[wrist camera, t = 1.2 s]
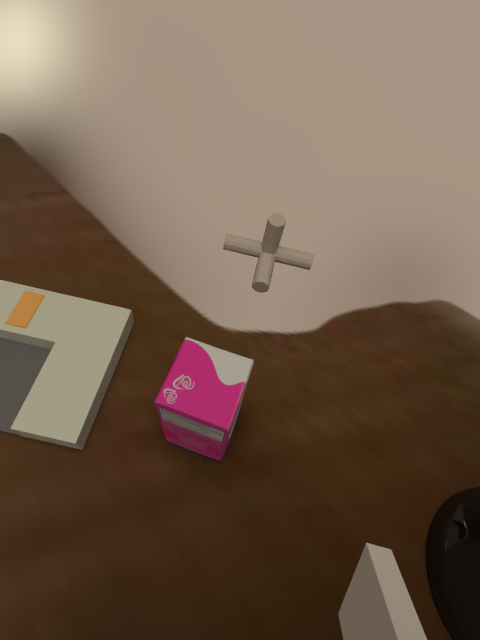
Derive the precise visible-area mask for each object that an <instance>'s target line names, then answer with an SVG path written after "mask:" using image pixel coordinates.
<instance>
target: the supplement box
mask: <svg viewBox="0 0 480 640" xmlns="http://www.w3.org/2000/svg"><path fill="white" fill-rule="evenodd" d="M253 363H254V361H253V360H252V359H248V358H245V357H242V356H239V355H236V354H233V353H230V352H227V351H224V350H221V349H218V348H216V347H213V346H210V345H207V344H205V343H202V342H199V341H196V340H193V339H191V338H188V337H186V338H185V340H184V342H183V344H182V346H181V348H180V350H179V352H178V354H177V356H176V358H175V360H174V362H173V364H172V366H171V369H170V371H169V373H168V375H167V377H166V379H165V381H164V383H163V385H162V388H161V390H160V392H159V394H158V396H157V398H156V400H155V404H156V408H157V411H158V414H159V418H160V421H161V425H162V428H163V432H164V435H165V439H166V441H167V442H169V443H172V444H174V445H177V446H179V447H182V448H184V449H187V450H190V451H192V452H195V453H197V454H200V455H202V456H205V457H208V458H210V459H213V460H216V461H218V462H221V461H222V459H223V457H224V454H225V451H226V449H227V446H228V443H229V441H230V438H231V435H232V432H233V429H234V427H235V424H236V420H237V417H238V414H239V411H240V406H241V403H242V399H243V396H244V393H245V389H246V386H247V383H248V379H249V376H250V373H251V369H252V366H253Z"/></svg>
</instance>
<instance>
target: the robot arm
mask: <svg viewBox="0 0 480 640" xmlns="http://www.w3.org/2000/svg"><path fill="white" fill-rule="evenodd" d="M427 568H428V576H429V581H430V585H431V589H432V593H433V596H434V600H435V602H436V605H437V608H438V610H439V613H440V615H441V617H442V619H443V621H444V623H445V625H446V627H447V629H448V631H449V633H450V634H451V636H452V638H453V639H454V640H480V487H476V488H472V489H467V490H464V491H461V492H459V493H457V494H455V495H454V496H452V497H451V498H450V499H448V500H447V501H446V502H445V503H444V504H443V505H442V507H441V508H440V509H439V511H438V512H437V514H436V516H435V518H434V520H433V523H432V525H431V529H430V532H429V537H428V544H427ZM338 614H339V619H340V624H341V630H342V635H343V640H427V638H426V636H425V633H424V631H423V628H422V626H421V623H420V621H419V618H418V616H417V613H416V611H415V608H414V606H413V603H412V601H411V598H410V596H409V593H408V591H407V588H406V586H405V583H404V581H403V578H402V576H401V573H400V571H399V568H398V566H397V563H396V561H395V558H394V556H393V553H392V550H391V549H388V548H384V547H380V546H376V545H373V544H369V543H366V545H365V547H364V550H363V552H362V555H361V557H360V560H359V563H358V565H357V568H356V570H355V573H354V575H353V578H352V580H351V583H350V585H349V588H348V590H347V593H346V595H345V598H344V600H343V603H342V606H341V608H340V611H339V613H338Z"/></svg>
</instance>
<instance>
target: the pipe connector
mask: <svg viewBox="0 0 480 640" xmlns="http://www.w3.org/2000/svg"><path fill="white" fill-rule="evenodd" d="M285 223H286V220H285V218H284V217H283V216H282V215H280V214H271V215H270V216H269V218H268V221H267V225H266V229H265V233H264V238H263V242H260V241H256V240H252V239H247V238H243V237H239V236H235V235H231V234H227V235H226V238H225V242H224V248H223V249H225V250H229V251H233V252H237V253H241V254H246V255H250V256H254V257H258V263H257V266H256V270H255V275H254V279H253V283H252V287H253V289H254V290H255V291H258V292H267V291H268V289H269V286H270V281H271V276H272V271H273V266H274V262H279V263H283V264H287V265H291V266H296V267H300V268H304V269H308V270H310V268H311V265H312V262H313V258H314V254H310V253H306V252H301V251H298V250H293V249H289V248H285V247H281V246H279V243H280V239H281V236H282V233H283V229H284V226H285Z"/></svg>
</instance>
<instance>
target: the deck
mask: <svg viewBox="0 0 480 640" xmlns="http://www.w3.org/2000/svg"><path fill="white" fill-rule="evenodd" d="M133 324H134V319H133V314H132V310H130V309H125V308H121V307H117V306H112V305H108V304H103V303H99V302H95V301H90V300H86V299H82V298H77V297H73V296H69V295H64V294H60V293H55V292H51V291H47V290H42V289H38V288H34V287H29V286H25V285H20V284H16V283H12V282H7V281H3V280H0V431H1V432H6V433H10V434H15V435H19V436H23V437H28V438H32V439H36V440H41V441H45V442H50V443H54V444H58V445H63V446H67V447H71V448H76V449H80V450H83V447H84V445H85V442H86V440H87V438H88V435H89V433H90V430H91V428H92V425H93V423H94V420H95V418H96V415H97V413H98V410H99V408H100V405H101V403H102V401H103V398H104V396H105V393H106V391H107V388H108V386H109V383H110V381H111V378H112V376H113V373H114V371H115V368H116V366H117V363H118V361H119V359H120V356H121V354H122V351H123V349H124V346H125V344H126V341H127V339H128V336H129V334H130V331H131V329H132V326H133Z"/></svg>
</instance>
